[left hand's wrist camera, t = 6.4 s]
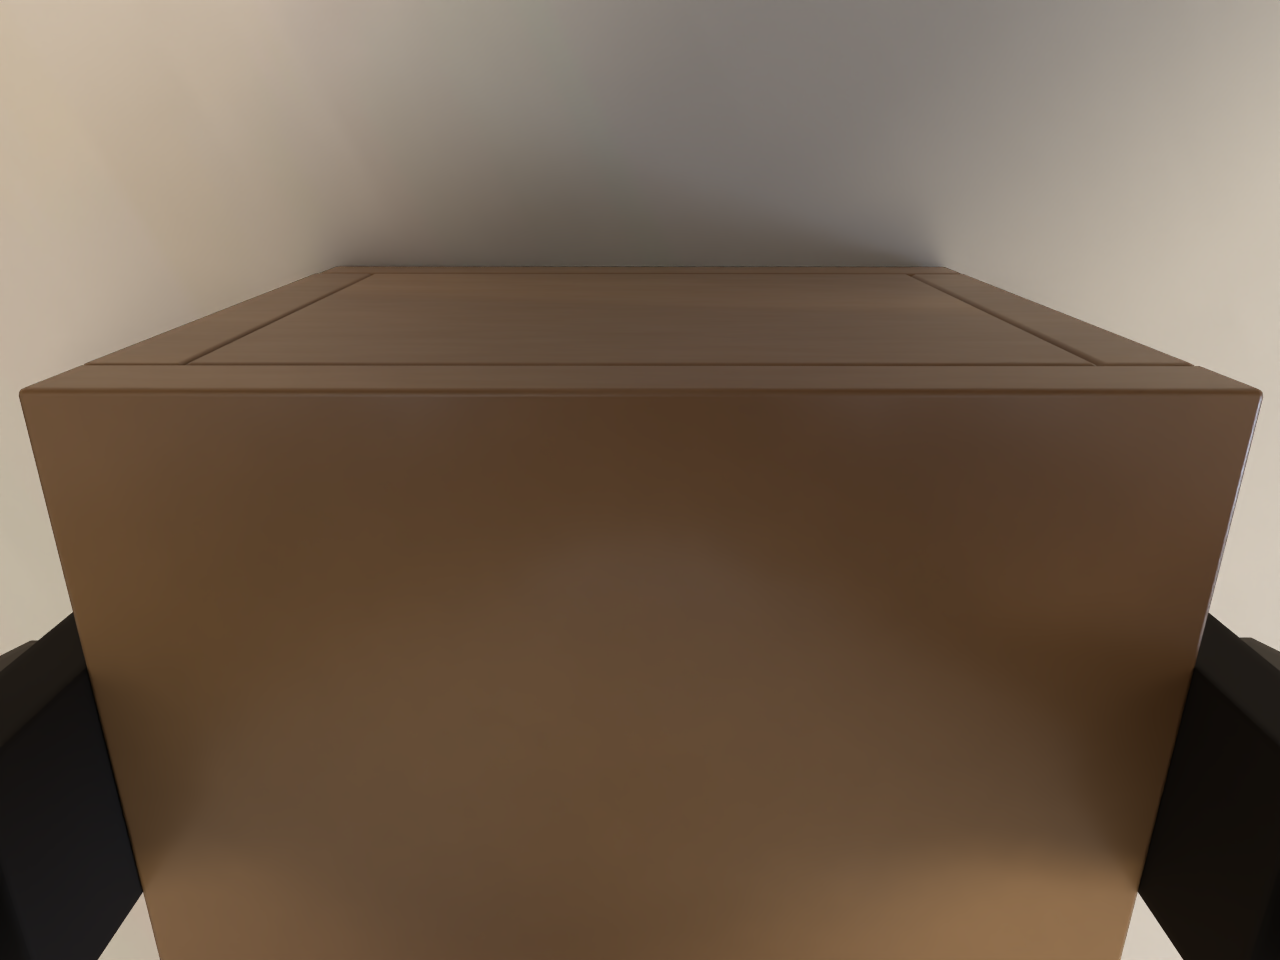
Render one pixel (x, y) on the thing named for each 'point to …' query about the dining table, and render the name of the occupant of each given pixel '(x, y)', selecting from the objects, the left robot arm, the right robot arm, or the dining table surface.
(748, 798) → the brown wooden box
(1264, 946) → the left robot arm
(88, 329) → the dining table surface
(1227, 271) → the dining table surface
